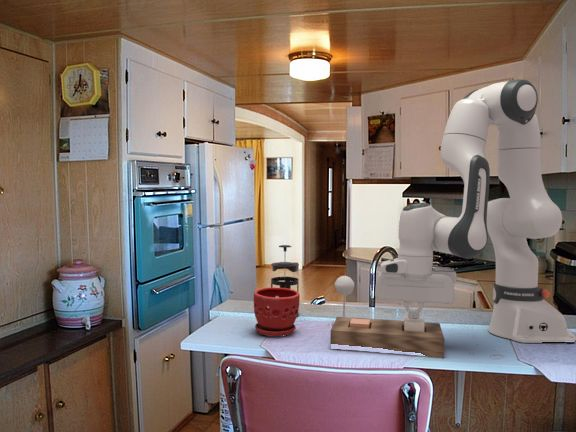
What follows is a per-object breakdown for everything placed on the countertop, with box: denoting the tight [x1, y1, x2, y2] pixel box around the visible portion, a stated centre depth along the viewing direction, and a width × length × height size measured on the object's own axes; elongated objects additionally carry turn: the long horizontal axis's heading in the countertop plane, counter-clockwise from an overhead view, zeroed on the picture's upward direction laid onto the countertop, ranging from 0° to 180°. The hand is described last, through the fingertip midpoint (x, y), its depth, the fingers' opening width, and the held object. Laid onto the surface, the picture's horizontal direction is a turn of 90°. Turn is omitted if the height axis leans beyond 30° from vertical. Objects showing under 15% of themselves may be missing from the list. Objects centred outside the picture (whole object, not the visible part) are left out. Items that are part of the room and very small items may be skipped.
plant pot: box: [253, 286, 301, 337], centre depth 142 cm, size 13×13×12 cm
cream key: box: [403, 317, 425, 332], centre depth 130 cm, size 5×5×4 cm
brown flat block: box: [329, 316, 445, 359], centre depth 132 cm, size 28×14×5 cm, turn 78°
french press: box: [270, 244, 300, 318], centre depth 161 cm, size 12×9×23 cm
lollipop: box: [334, 275, 355, 317], centre depth 151 cm, size 6×6×15 cm
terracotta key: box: [350, 317, 370, 329], centre depth 133 cm, size 5×5×4 cm
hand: (413, 318), depth 130 cm, fingers closed
